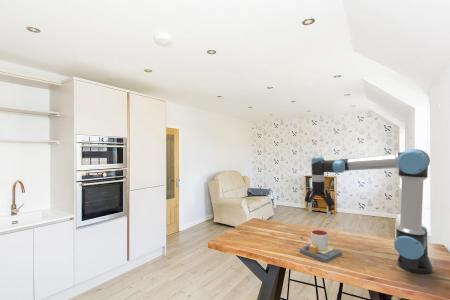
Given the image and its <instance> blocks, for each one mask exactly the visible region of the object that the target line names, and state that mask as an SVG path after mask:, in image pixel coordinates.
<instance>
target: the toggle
mask: <svg viewBox="0 0 450 300" xmlns="http://www.w3.org/2000/svg"><path fill="white" fill-rule="evenodd" d="M309 245H310V246H309V252H312V253H314V254H317V253H318V247H317V246H314V245H311V244H309Z"/></svg>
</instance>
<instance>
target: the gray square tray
mask: <svg viewBox="0 0 450 300" xmlns="http://www.w3.org/2000/svg"><path fill="white" fill-rule="evenodd" d="M310 245H311V244H306V245H303V246H302V247H303V248H301V249H299V253H300V254H302V255H304V256H307V257H308V258H309V257H310V258H312V259H314V260H318V261H319V262H321V263H324V264H327V263H329V262H330V261H333V260H335V259H337V258H339V257H341V256H342V254H343V253H342V251H340V250H337V249H334V248H332V247H329V246H328V249H327V250H324V251H320V250H318V253H317V254H314V253H312V252H309V246H310Z"/></svg>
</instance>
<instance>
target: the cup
mask: <svg viewBox="0 0 450 300" xmlns="http://www.w3.org/2000/svg"><path fill="white" fill-rule="evenodd" d="M328 234H329V233H328V232H327V231H325V230H321V229H319V230H318V229H316V230H315V229H314V230H312V231H311V232H310V240H311V244H310V245H314V246H317V247H318V250H320V251H324V250H327V249H328V247H329V235H328Z"/></svg>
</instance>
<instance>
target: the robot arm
mask: <svg viewBox="0 0 450 300" xmlns="http://www.w3.org/2000/svg"><path fill="white" fill-rule="evenodd" d="M310 162H311V187H308V188H307V193H306V195H305V197H304V201H305V202H306V203H307V205H306V206H307V210H308V213H312V212H313V207H312V206H313V203H312V200H314V198H315V197H321V198H322V200H323V201H324V202H325V203H326V217H327V218H329V217H331V214H332V210H333V209H332V208H333V206H335V201H334V199H333V197H332V195H331V193H330V189H325V186H326V185H325V173H335V174H340V173H344V172H345V171H346V172H347V171H366V170H383V169H384V170H385V169H398V174H397V175H398V177H399V178H401V189H400V191H401V193H400V216H399V219H400V220H399V221H400V223H399V225H397V226H396V229H395V230H396V231H395V239H394V243H393V245H394V249H395V251H396V252H397V253H398V254H399V255H398V258H397V266H399V267H400V268H401V269H403V270H405V271H408V272H410V273H414V274H419V275H420V274H422V275H429V274H432V273H433V270H434V269H433V268H434V267H433V265H432V262H431V260H430V257H429V255H428V253H429V252H428V251H429V248H428V247H429V246H428V234H429V233H428V229H427V228H426V227H425V226H423V225H422V223H423V222H422V219H423V202H424V201H423V199H424V198H423V197H424V181H425V180H427V179H428V177H429V176H428V173H429V172H428V171H429V165H430V162H431V158H430V156H429V155H428V153H427V152H426V151H424V150H422V149H417V148H416V149H414V148H413V149H407V150H404V151H402V152H396V154H389V155H387V154H386V155H376V156H366V157H364V156H363V157H355V158H354V157H353V158H341V159H332V160H331V159H330V160H329V159H328V160H326V159H324V157H322V156H315V157H311V161H310Z"/></svg>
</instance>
